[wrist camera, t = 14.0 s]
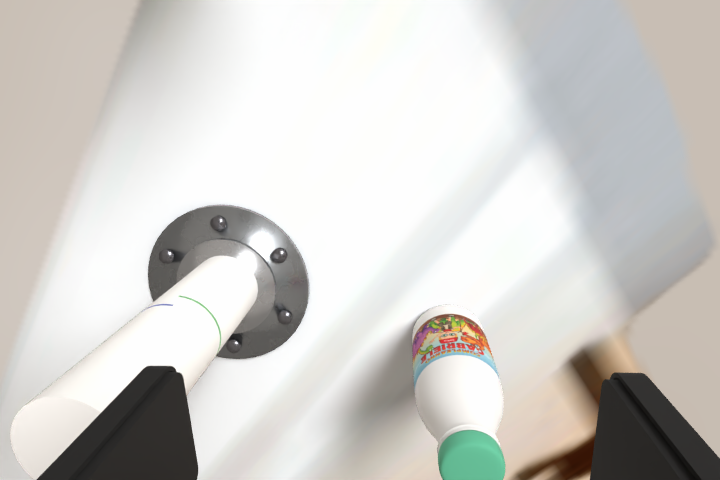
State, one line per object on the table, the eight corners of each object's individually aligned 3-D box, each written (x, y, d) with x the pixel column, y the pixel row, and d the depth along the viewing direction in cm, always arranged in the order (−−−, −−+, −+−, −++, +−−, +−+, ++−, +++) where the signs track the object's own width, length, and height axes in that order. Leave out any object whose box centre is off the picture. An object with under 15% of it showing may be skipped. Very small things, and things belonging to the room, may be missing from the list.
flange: (138, 206, 51) (132, 208, 49) (303, 203, 49) (300, 205, 48) (164, 355, 56) (159, 360, 54) (314, 357, 54) (312, 362, 53)
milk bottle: (493, 350, 52) (546, 497, 33) (429, 374, 53) (443, 528, 34) (466, 291, 50) (504, 409, 31) (400, 318, 52) (398, 446, 33)
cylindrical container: (188, 257, 50) (-5, 397, 26) (252, 254, 50) (113, 395, 26) (199, 317, 52) (29, 499, 28) (261, 315, 52) (140, 500, 28)
